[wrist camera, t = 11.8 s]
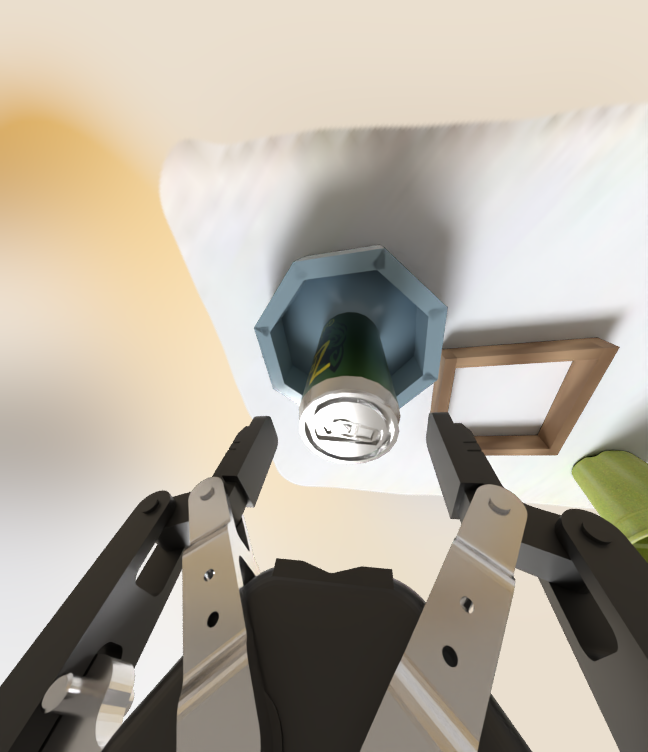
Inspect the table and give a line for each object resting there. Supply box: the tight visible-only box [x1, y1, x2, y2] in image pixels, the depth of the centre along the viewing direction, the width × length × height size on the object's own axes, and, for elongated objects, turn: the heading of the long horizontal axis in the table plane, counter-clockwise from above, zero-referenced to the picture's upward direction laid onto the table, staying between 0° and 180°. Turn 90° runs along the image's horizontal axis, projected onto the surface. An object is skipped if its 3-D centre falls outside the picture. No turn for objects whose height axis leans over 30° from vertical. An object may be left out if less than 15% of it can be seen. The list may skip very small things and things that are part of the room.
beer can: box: [299, 312, 400, 464], centre depth 16 cm, size 5×5×12 cm
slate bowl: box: [254, 245, 448, 409], centre depth 20 cm, size 14×14×4 cm
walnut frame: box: [426, 338, 620, 455], centre depth 23 cm, size 13×13×2 cm
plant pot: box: [572, 451, 648, 563], centre depth 24 cm, size 9×9×9 cm
